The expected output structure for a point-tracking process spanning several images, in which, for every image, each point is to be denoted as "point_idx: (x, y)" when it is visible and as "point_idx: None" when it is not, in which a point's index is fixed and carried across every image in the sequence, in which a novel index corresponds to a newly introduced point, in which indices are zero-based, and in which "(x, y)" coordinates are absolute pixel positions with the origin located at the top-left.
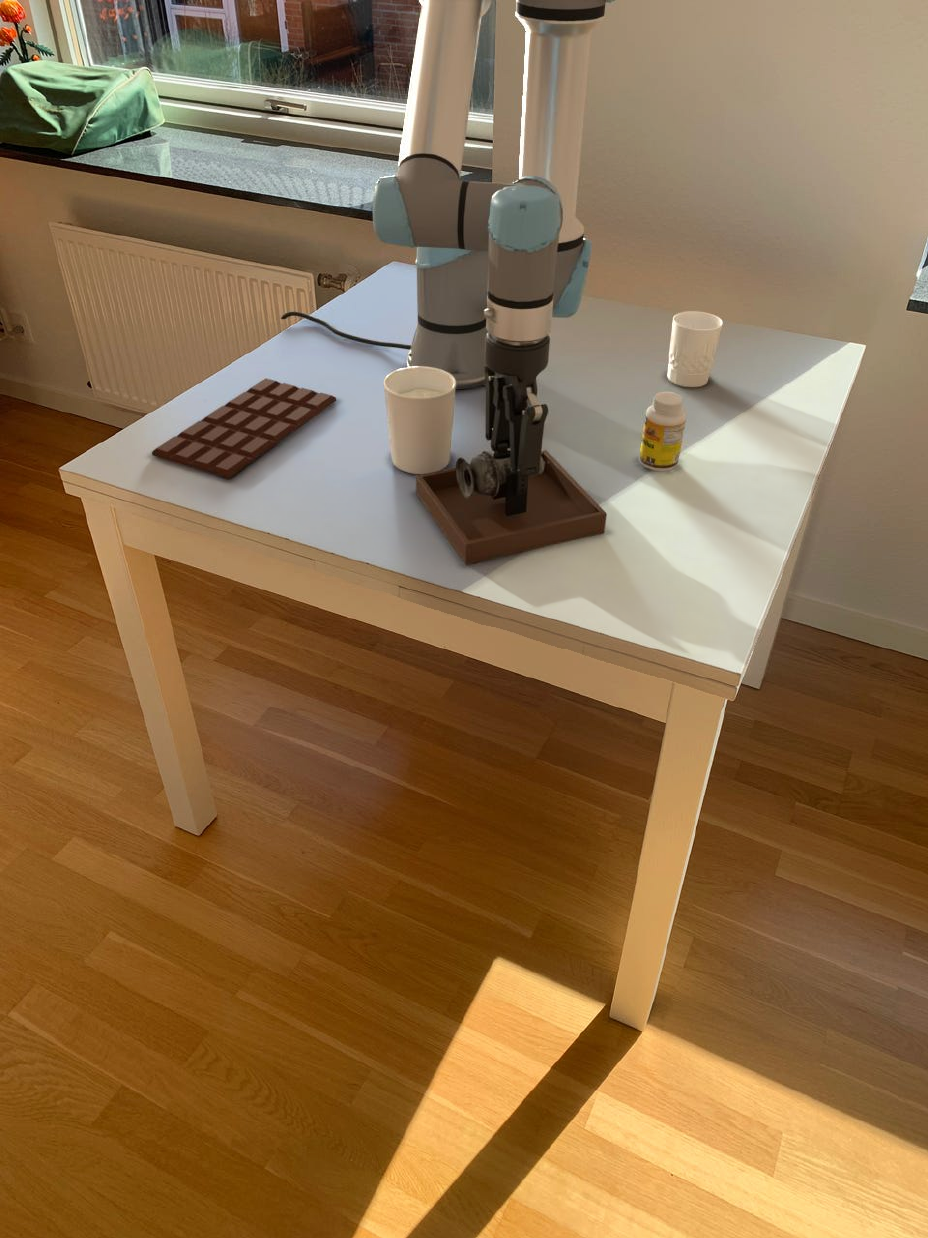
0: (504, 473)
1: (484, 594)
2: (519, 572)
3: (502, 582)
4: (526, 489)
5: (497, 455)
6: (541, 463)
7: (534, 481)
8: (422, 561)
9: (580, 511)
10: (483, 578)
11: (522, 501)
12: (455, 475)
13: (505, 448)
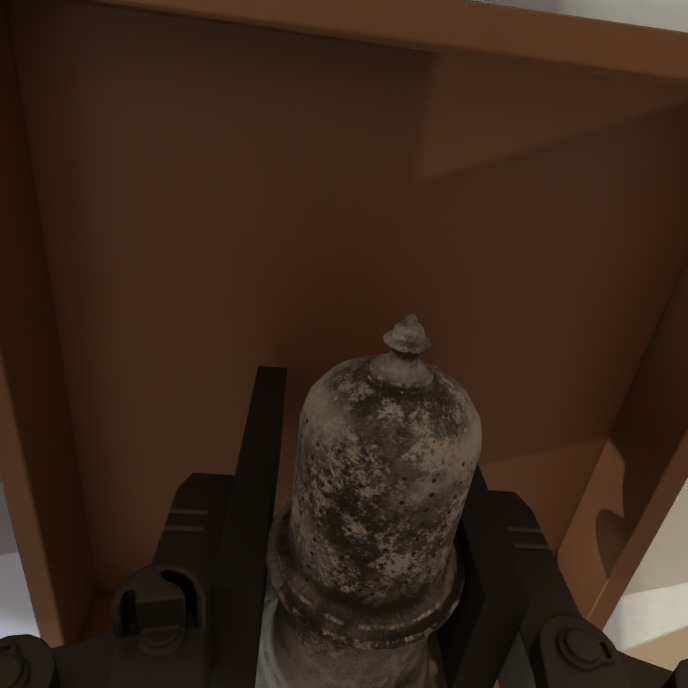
0: (427, 664)
1: (681, 622)
2: (683, 518)
3: (679, 572)
4: (538, 529)
5: (249, 680)
6: (477, 453)
7: (152, 145)
8: None
9: (570, 81)
10: (623, 600)
11: None
12: (59, 536)
13: (208, 654)
